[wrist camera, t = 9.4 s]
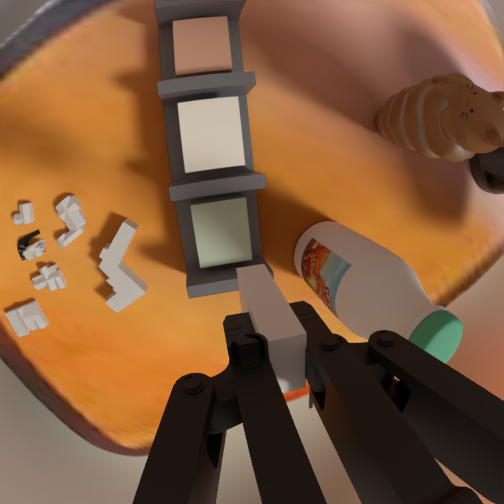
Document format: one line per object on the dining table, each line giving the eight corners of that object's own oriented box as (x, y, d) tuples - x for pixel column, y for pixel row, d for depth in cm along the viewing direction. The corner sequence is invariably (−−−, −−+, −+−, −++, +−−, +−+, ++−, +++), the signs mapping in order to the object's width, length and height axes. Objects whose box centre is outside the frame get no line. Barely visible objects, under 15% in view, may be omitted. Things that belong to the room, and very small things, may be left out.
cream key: (233, 101, 24) (238, 96, 21) (240, 164, 26) (245, 165, 23) (179, 107, 23) (177, 103, 21) (186, 171, 25) (185, 172, 23)
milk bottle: (315, 207, 31) (454, 278, 13) (361, 239, 34) (488, 316, 15) (279, 266, 33) (374, 390, 14) (328, 291, 35) (428, 399, 17)
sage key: (241, 194, 28) (245, 197, 26) (247, 251, 30) (252, 259, 28) (190, 201, 27) (190, 205, 25) (199, 259, 29) (200, 268, 27)
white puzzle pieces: (-35, 202, 22) (-45, 205, 20) (104, 115, 24) (98, 112, 22) (23, 334, 29) (17, 343, 27) (165, 288, 31) (164, 297, 29)
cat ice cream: (367, 77, 27) (488, 47, 11) (412, 111, 30) (529, 109, 13) (345, 139, 29) (476, 140, 13) (393, 169, 32) (515, 194, 15)
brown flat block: (223, 26, 22) (226, 16, 20) (228, 76, 24) (232, 69, 22) (173, 30, 21) (172, 21, 19) (177, 81, 23) (175, 75, 21)
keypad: (235, 15, 22) (244, -9, 17) (260, 262, 32) (274, 283, 27) (159, 22, 21) (154, -1, 16) (188, 274, 31) (188, 298, 26)
